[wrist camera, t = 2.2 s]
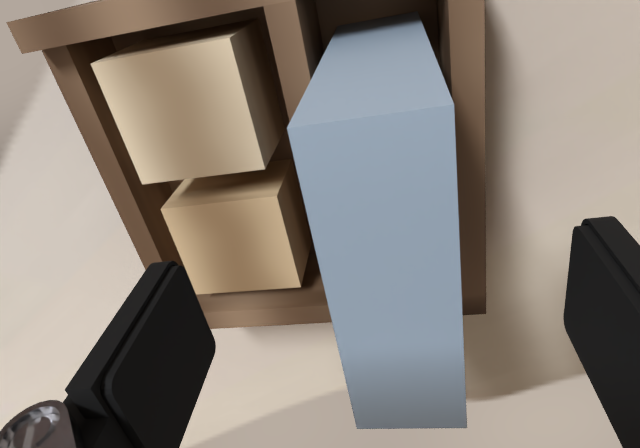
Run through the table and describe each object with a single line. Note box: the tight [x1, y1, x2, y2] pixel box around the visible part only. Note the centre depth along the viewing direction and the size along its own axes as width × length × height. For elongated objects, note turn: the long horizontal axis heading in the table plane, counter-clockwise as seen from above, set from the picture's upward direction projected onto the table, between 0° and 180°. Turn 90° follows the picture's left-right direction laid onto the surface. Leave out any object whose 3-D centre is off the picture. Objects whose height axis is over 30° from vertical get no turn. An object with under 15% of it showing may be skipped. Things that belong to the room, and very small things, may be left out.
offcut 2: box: [161, 159, 312, 295], centre depth 21 cm, size 5×5×4 cm
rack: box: [7, 0, 486, 329], centre depth 19 cm, size 15×14×5 cm
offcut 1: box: [91, 18, 285, 184], centre depth 18 cm, size 5×5×4 cm
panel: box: [287, 11, 467, 429], centre depth 15 cm, size 3×9×11 cm, turn 11°
